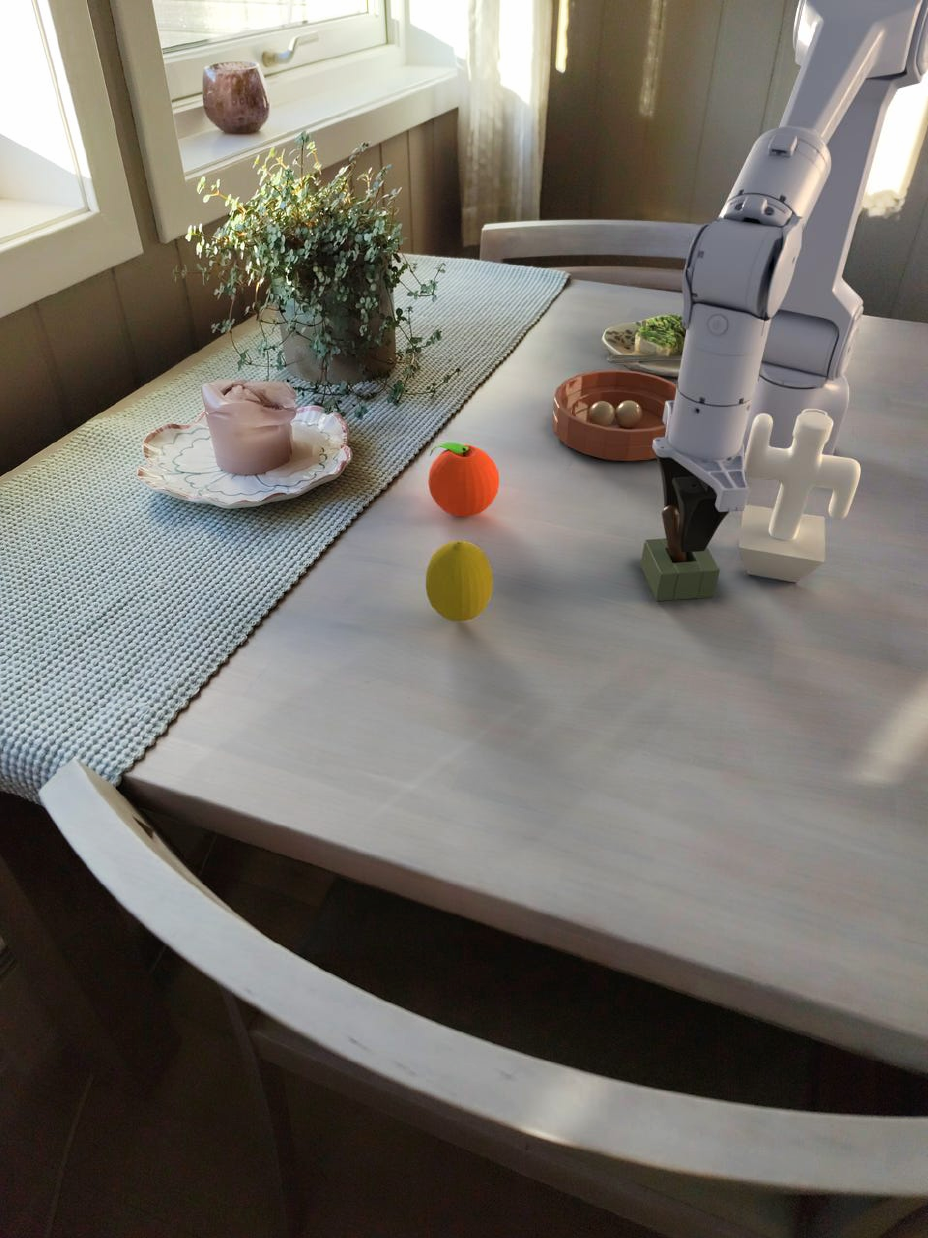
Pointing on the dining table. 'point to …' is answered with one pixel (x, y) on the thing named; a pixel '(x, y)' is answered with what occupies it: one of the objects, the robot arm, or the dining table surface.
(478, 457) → the clementine
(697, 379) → the robot arm
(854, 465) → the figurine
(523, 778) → the dining table surface
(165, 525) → the dining table surface
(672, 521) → the stick
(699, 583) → the holder
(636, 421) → the bead
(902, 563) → the dining table surface
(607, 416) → the bead
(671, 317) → the salad plate
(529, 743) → the dining table surface
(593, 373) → the bowl
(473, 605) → the lemon
